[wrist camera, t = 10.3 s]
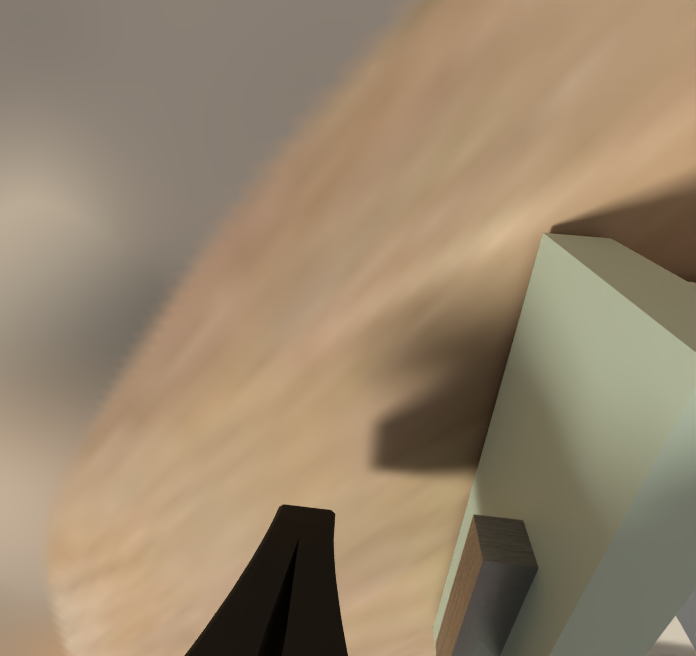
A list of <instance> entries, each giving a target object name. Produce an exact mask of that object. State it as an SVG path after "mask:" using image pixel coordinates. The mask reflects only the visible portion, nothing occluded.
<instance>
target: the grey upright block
mask: <svg viewBox="0 0 696 656" xmlns="http://www.w3.org/2000/svg"><path fill="white" fill-rule="evenodd" d="M676 617H677V619H678V620H679V622H680V624H681V626H682V628H683V629H684V631H685V633H686V635H687V636H688V638H689V640H690V642H691V643H692V645H693V647H694V649H695V650H696V589H695V590H694V592H693V593H692V594H691V596H690V597H689V598H688V600H687V601H686V602H685V604H684V605H683V606H682V608H681V609H680V610H679V612H678V613H677V614H676Z"/></svg>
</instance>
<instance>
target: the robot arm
mask: <svg viewBox="0 0 696 656" xmlns="http://www.w3.org/2000/svg"><path fill="white" fill-rule="evenodd" d="M334 526H335V513H334V512H333V511H332V510H326V509H317V508H309V507H301V506H292V505H282V506H280V507H279V509H278V511H277V513H276V515H275V517H274V519H273V521H272V523H271V525H270V527H269V529H268V531H267V533H266V535H265V537H264V538H263V540H262V542H261V544H260V545H259V547H258V549H257V550H256V552H255V554H254V556H253V557H252V559H251V561H250V562H249V564H248V565H247V567H246V568H245V570H244V572H243V573H242V575H241V576H240V578H239V580H238V581H237V583H236V584H235V586H234V587H233V589H232V590H231V592H230V593H229V595H228V596H227V598H226V599H225V601H224V602H223V604H222V605H221V606H220V608H219V609H218V611H217V612H216V613H215V615H214V616H213V618H212V619H211V621H210V622H209V623H208V625H207V626H206V628H205V629H204V631H203V632H202V633H201V635H200V636H199V637H198V639H197V640H196V641H195V643H194V644H193V645H192V647H191V648H190V649H189V651H188V652H187V653H186V654H185V656H348V654H347V648H346V643H345V637H344V632H343V626H342V620H341V613H340V606H339V599H338V591H337V583H336V574H335V562H334Z"/></svg>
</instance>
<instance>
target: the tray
mask: <svg viewBox="0 0 696 656" xmlns="http://www.w3.org/2000/svg"><path fill="white" fill-rule="evenodd" d="M695 589H696V282H687V281H686V280H684V279H682V278H680V277H678V276H677V275H675V274H673V273H671V272H670V271H668V270H666V269H664V268H663V267H661V266H659V265H657V264H656V263H654V262H652V261H650V260H648V259H647V258H645V257H643V256H641V255H640V254H638V253H636V252H634V251H633V250H631V249H629V248H627V247H626V246H624V245H622V244H620V243H618V242H617V241H615V240H613V239H611V238H602V237H589V236H577V235H564V234H552V233H543V235H542V239H541V242H540V246H539V250H538V253H537V257H536V260H535V264H534V267H533V271H532V275H531V278H530V282H529V285H528V289H527V293H526V296H525V300H524V303H523V307H522V311H521V314H520V318H519V321H518V325H517V329H516V332H515V336H514V339H513V343H512V346H511V350H510V354H509V357H508V361H507V364H506V368H505V372H504V375H503V379H502V382H501V386H500V390H499V393H498V397H497V400H496V404H495V407H494V411H493V415H492V418H491V422H490V425H489V429H488V433H487V436H486V440H485V443H484V447H483V451H482V454H481V458H480V461H479V465H478V469H477V472H476V476H475V479H474V483H473V486H472V490H471V494H470V497H469V501H468V504H467V508H466V512H465V515H464V519H463V522H462V526H461V530H460V533H459V537H458V540H457V544H456V547H455V551H454V555H453V558H452V562H451V565H450V569H449V573H448V576H447V580H446V583H445V587H444V591H443V594H442V598H441V601H440V605H439V608H438V612H437V616H436V619H435V623H434V626H433V629H434V641H435V653H436V656H696V650H695V649H694V647H693V645H692V643H691V642H690V640H689V638H688V636H687V635H686V633H685V631H684V629H683V628H682V626H681V624H680V622H679V620H678V619H677V617H676V614H677V613H678V612H679V610H680V609H681V608H682V606H683V605H684V604H685V602H686V601H687V600H688V598H689V597H690V596H691V594H692V593H693V592H694V590H695Z"/></svg>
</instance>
